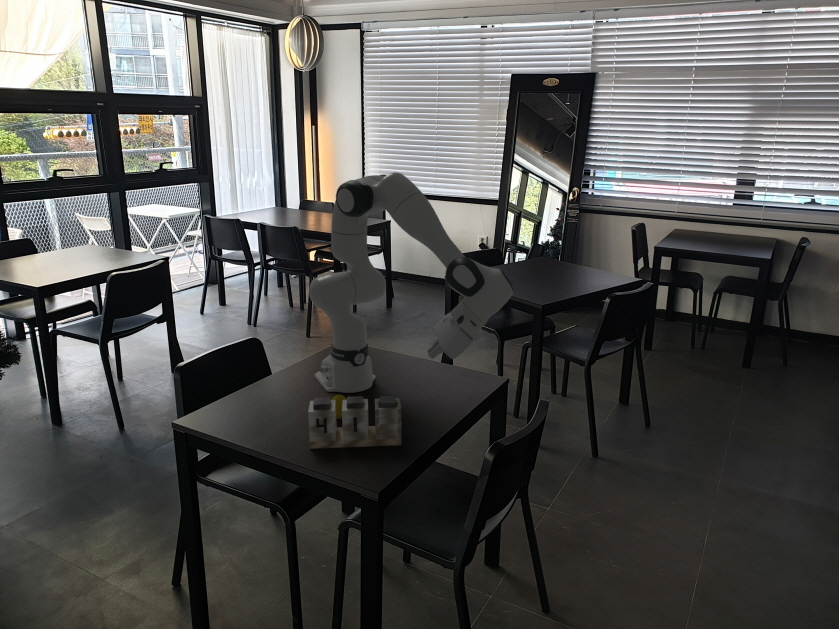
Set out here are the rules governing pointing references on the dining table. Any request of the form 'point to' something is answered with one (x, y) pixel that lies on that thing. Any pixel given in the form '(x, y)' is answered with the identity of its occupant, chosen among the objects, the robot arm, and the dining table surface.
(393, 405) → the plain button
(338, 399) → the lemon
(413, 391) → the dining table surface
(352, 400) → the button panel
